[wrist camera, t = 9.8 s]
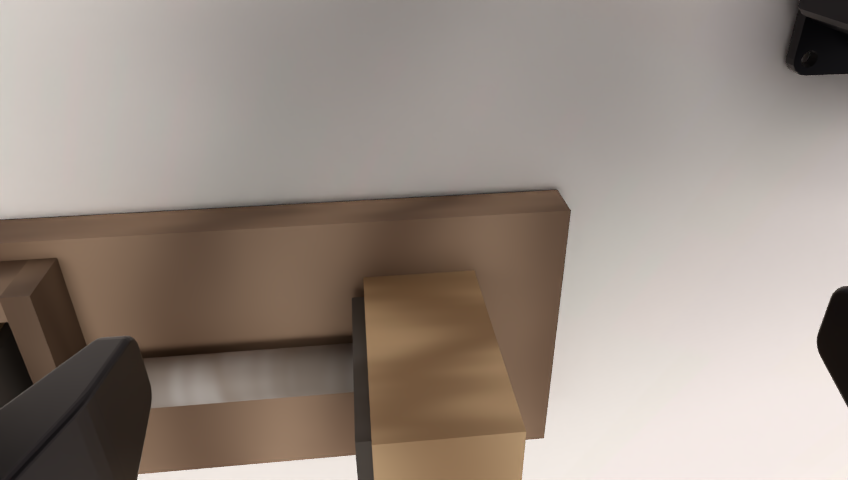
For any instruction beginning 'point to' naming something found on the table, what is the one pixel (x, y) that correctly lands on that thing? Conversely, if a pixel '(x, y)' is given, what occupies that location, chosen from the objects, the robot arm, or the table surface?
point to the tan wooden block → (11, 367)
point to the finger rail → (312, 326)
